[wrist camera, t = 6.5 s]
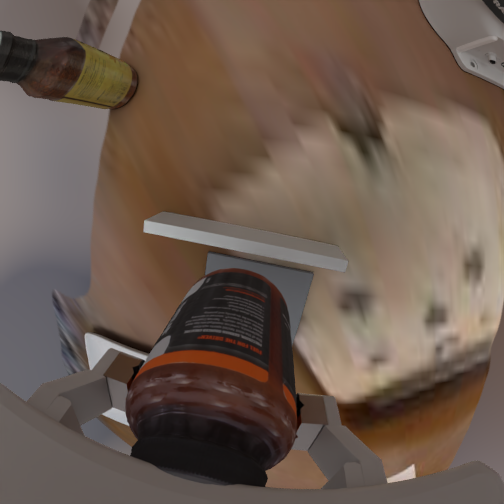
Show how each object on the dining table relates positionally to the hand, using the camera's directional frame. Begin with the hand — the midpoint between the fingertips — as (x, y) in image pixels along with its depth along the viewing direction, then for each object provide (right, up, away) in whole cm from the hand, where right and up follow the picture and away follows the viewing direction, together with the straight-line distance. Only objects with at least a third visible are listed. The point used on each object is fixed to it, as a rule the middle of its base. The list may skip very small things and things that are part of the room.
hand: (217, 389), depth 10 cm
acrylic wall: (+1, +7, +21) cm, 22 cm away
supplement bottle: (0, +2, +6) cm, 6 cm away
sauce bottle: (-15, +25, +17) cm, 34 cm away
